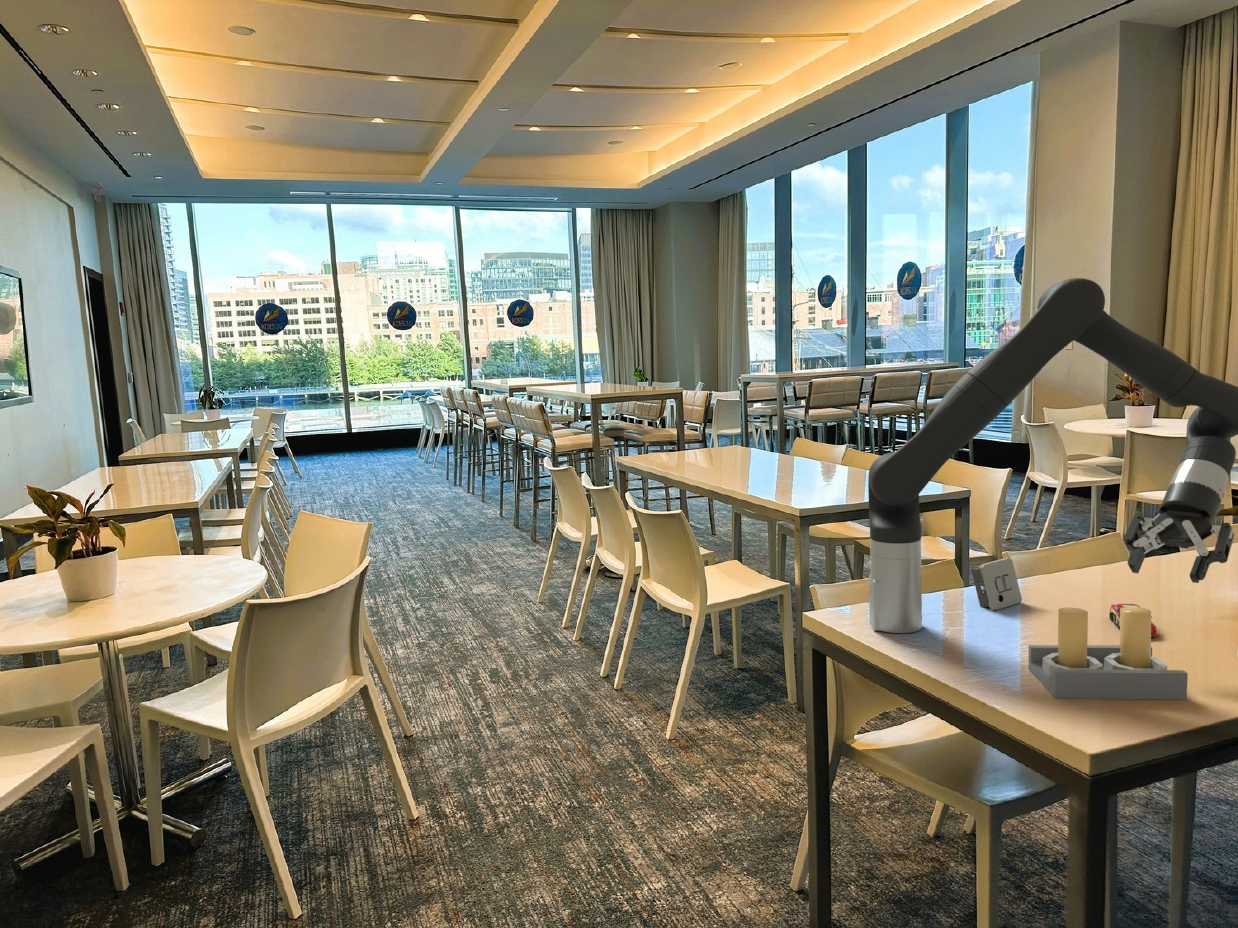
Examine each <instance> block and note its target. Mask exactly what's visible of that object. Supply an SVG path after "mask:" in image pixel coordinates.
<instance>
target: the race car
mask: <svg viewBox="0 0 1238 928" xmlns="http://www.w3.org/2000/svg"><path fill="white" fill-rule="evenodd" d="M1123 607H1140V608H1142V607H1141V606H1140V605H1138V604H1134V603H1113V604H1111V605H1110V608H1109V620H1110V621H1111V623H1113V624H1114V626H1116V627H1117V629H1118V630H1119V631H1120V609H1121V608H1123ZM1152 617H1153V616H1152V615H1151V618H1152ZM1156 636H1157V627H1156V625H1155V623H1154V622H1153V621H1152V620H1151V638H1156Z"/></svg>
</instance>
